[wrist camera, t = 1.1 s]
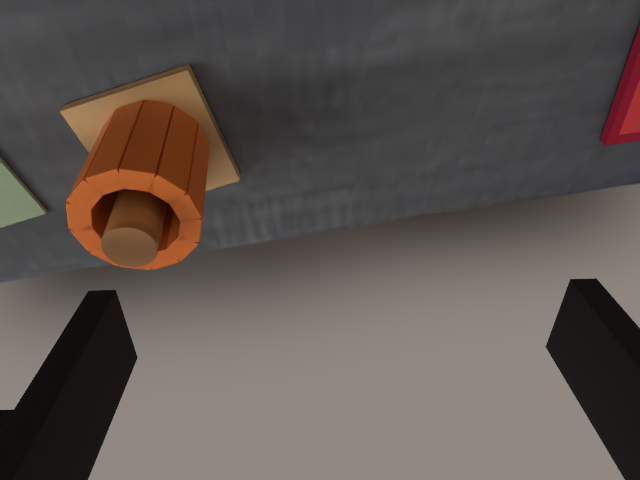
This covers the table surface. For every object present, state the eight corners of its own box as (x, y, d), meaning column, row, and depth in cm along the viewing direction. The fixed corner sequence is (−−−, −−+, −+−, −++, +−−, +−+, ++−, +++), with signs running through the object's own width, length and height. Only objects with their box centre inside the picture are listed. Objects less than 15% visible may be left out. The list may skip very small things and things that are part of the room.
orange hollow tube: (80, 119, 34) (37, 193, 27) (181, 86, 33) (164, 153, 26) (136, 201, 39) (113, 281, 32) (224, 175, 38) (220, 250, 31)
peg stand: (63, 104, 34) (-7, 209, 24) (189, 63, 33) (168, 154, 24) (134, 205, 41) (100, 319, 31) (240, 173, 40) (239, 279, 30)
